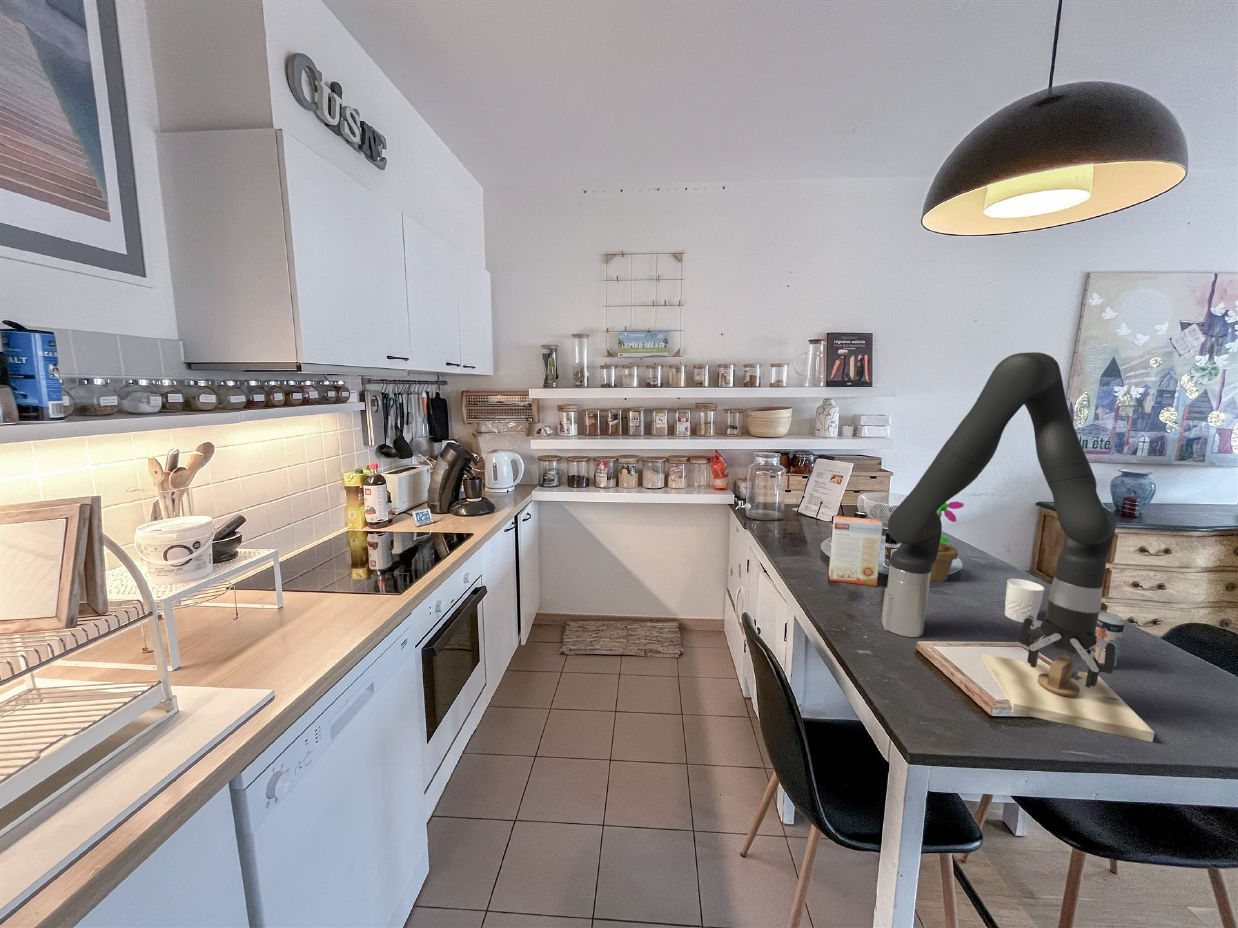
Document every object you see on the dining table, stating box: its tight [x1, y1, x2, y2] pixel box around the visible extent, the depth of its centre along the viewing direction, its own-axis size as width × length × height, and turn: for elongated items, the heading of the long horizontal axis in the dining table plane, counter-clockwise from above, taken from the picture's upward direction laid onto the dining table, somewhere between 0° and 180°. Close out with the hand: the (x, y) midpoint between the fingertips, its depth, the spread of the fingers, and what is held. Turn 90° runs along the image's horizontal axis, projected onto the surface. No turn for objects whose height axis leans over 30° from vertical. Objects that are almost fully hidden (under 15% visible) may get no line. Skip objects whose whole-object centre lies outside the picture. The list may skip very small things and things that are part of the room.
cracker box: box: [828, 515, 884, 587], centre depth 157 cm, size 14×6×21 cm, turn 71°
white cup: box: [1004, 578, 1045, 623], centre depth 134 cm, size 8×8×10 cm
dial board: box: [981, 653, 1156, 743], centre depth 100 cm, size 21×19×2 cm
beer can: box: [1090, 611, 1126, 668], centre depth 112 cm, size 5×5×12 cm
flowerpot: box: [930, 501, 965, 583], centre depth 161 cm, size 14×14×30 cm
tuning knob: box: [1038, 654, 1080, 697], centre depth 101 cm, size 12×6×6 cm, turn 120°
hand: (1060, 675), depth 100 cm, fingers open, 8 cm apart
